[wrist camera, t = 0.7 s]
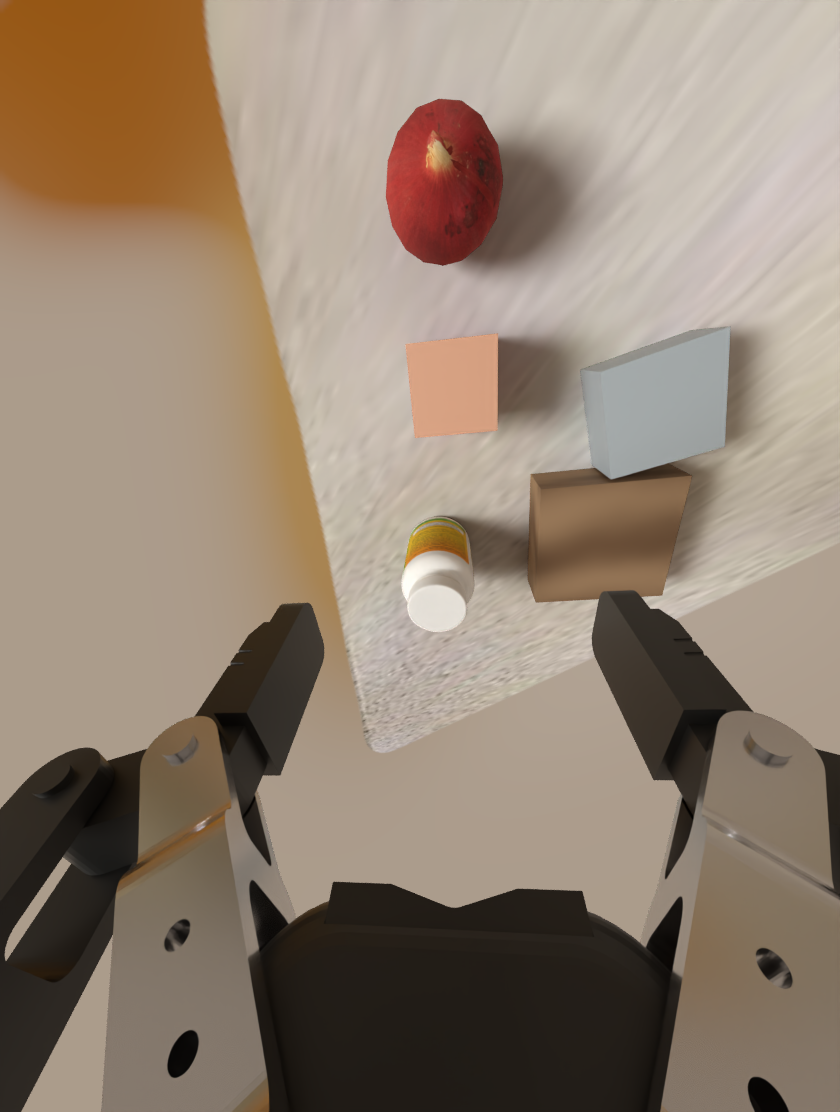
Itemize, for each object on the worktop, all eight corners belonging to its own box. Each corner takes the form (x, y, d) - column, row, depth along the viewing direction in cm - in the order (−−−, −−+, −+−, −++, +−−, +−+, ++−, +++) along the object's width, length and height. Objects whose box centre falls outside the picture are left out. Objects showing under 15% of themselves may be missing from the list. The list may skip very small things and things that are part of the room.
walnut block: (529, 473, 29) (541, 489, 26) (661, 460, 28) (692, 475, 25) (526, 576, 34) (535, 602, 31) (639, 569, 33) (661, 595, 29)
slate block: (578, 369, 25) (600, 372, 22) (688, 330, 24) (730, 326, 20) (590, 464, 28) (611, 479, 25) (688, 434, 27) (724, 446, 23)
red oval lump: (503, 155, 20) (533, 51, 13) (481, 282, 23) (497, 252, 16) (400, 139, 20) (376, 27, 13) (391, 269, 23) (367, 232, 16)
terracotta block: (413, 345, 25) (405, 344, 20) (486, 337, 25) (497, 333, 19) (420, 421, 27) (414, 437, 22) (487, 415, 27) (497, 430, 22)
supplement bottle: (399, 527, 32) (382, 590, 23) (456, 505, 31) (460, 564, 22) (423, 575, 34) (416, 648, 26) (477, 557, 33) (488, 628, 24)
